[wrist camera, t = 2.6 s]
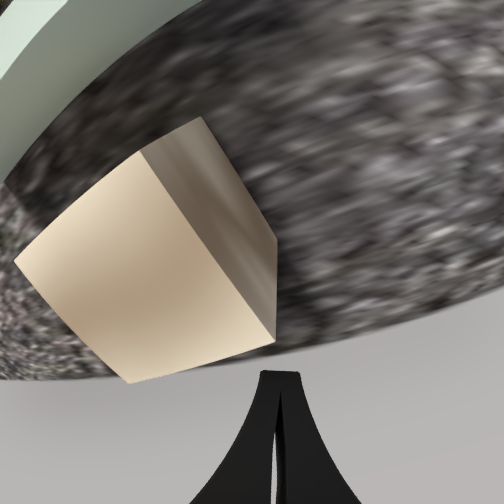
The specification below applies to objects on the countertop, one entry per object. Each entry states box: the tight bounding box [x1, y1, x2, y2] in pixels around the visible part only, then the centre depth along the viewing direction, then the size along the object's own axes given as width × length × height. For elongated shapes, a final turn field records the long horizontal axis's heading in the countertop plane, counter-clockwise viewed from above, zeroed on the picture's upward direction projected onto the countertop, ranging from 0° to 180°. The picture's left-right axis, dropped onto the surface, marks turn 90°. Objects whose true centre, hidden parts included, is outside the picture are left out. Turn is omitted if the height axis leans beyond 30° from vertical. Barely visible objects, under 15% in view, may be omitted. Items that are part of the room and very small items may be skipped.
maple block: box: [14, 116, 277, 384], centre depth 8 cm, size 4×4×4 cm
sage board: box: [0, 0, 202, 184], centre depth 6 cm, size 1×12×4 cm, turn 121°
